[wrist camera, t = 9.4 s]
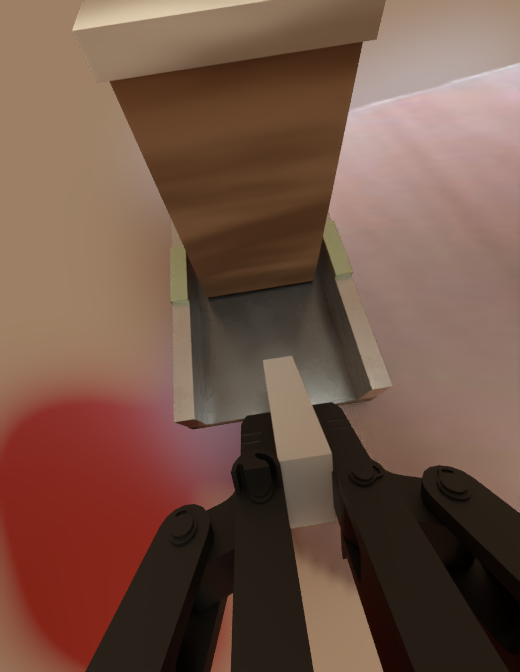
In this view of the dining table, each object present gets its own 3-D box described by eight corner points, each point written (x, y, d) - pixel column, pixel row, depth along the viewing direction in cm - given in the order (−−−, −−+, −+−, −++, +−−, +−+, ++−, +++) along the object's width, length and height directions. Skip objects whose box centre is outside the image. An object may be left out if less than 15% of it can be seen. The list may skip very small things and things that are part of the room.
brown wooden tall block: (318, 283, 22) (389, -19, 8) (203, 302, 22) (72, 31, 8) (308, 249, 23) (352, -53, 9) (200, 266, 23) (88, -13, 9)
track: (370, 399, 19) (419, 370, 12) (193, 429, 19) (148, 415, 12) (310, 215, 27) (320, 138, 20) (185, 235, 27) (155, 164, 20)
